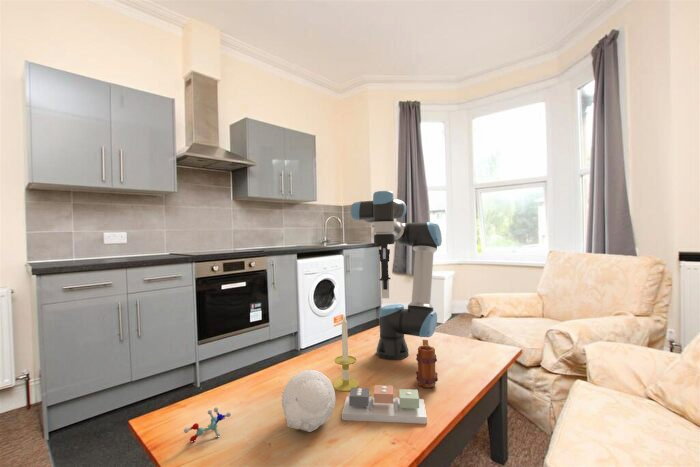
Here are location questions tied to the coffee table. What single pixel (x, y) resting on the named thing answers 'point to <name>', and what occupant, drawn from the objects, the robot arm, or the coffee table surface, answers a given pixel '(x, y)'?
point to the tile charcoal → (359, 397)
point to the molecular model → (210, 426)
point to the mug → (426, 365)
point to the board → (385, 412)
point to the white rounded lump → (308, 400)
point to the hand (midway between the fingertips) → (385, 297)
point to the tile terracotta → (383, 394)
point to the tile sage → (408, 398)
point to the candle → (345, 364)
